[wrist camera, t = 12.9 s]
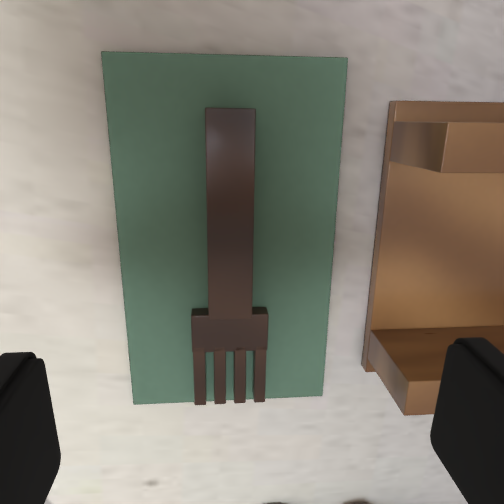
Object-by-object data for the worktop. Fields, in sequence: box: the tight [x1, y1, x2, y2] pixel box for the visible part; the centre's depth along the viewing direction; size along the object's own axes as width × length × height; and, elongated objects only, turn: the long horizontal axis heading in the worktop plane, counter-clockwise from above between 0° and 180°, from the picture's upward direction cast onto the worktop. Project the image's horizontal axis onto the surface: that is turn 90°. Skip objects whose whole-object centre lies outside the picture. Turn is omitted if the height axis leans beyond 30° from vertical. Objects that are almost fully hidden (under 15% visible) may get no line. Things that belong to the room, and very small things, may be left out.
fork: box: [191, 108, 269, 405], centre depth 23 cm, size 17×4×2 cm, turn 179°
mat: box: [101, 51, 348, 405], centre depth 23 cm, size 20×12×1 cm, turn 179°
